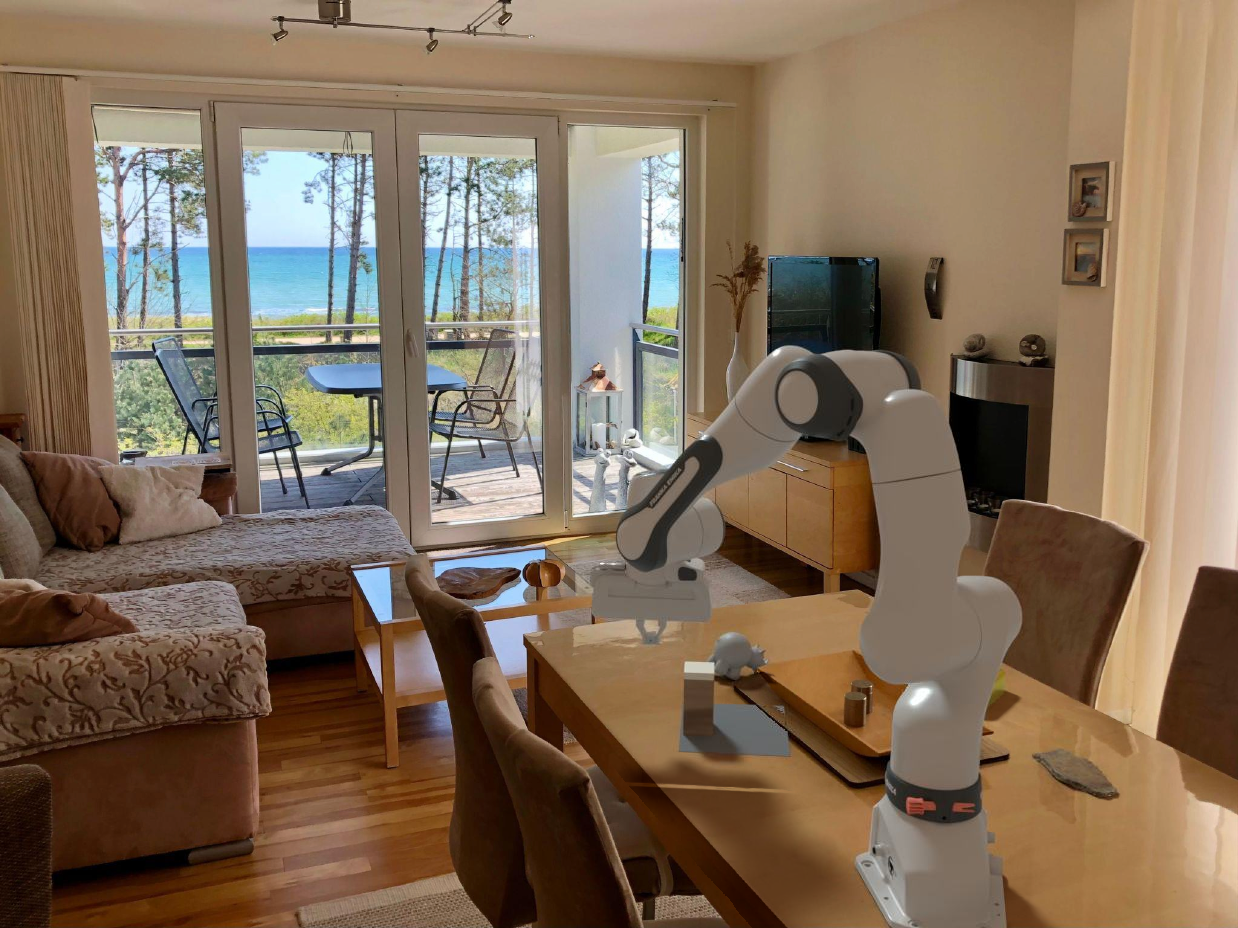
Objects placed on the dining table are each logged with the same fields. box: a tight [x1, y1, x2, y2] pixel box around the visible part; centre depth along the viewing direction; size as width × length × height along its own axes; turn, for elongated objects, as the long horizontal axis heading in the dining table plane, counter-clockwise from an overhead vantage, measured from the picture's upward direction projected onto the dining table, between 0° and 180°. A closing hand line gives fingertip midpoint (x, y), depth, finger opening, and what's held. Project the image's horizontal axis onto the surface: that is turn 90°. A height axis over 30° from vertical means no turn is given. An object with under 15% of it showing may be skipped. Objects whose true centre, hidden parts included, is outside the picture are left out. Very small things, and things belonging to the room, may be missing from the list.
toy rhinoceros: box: [705, 631, 770, 681], centre depth 211 cm, size 7×12×8 cm, turn 106°
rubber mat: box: [678, 701, 792, 757], centre depth 187 cm, size 20×18×1 cm
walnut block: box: [682, 661, 715, 736], centre depth 186 cm, size 5×5×11 cm
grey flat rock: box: [1031, 748, 1118, 798], centre depth 172 cm, size 8×16×2 cm, turn 10°
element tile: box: [987, 668, 1007, 709], centre depth 204 cm, size 15×15×5 cm
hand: (651, 643), depth 185 cm, fingers closed
